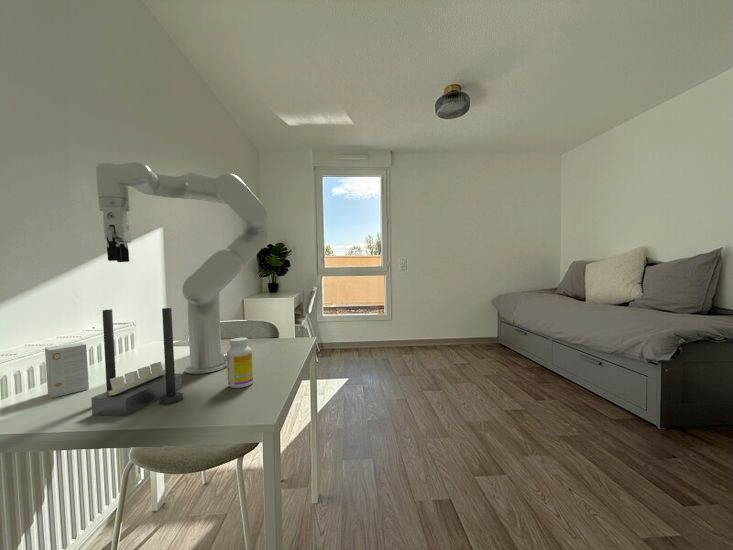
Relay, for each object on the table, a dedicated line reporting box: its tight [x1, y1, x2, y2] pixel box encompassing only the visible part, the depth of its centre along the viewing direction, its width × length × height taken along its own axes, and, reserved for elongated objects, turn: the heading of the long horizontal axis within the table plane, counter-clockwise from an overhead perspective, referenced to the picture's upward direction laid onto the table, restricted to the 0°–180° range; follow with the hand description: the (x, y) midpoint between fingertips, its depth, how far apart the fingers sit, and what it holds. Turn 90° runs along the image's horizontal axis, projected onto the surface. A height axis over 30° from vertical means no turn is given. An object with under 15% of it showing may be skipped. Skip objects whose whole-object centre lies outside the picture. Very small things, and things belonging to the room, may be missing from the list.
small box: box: [44, 341, 90, 399], centre depth 94 cm, size 8×6×13 cm
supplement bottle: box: [226, 337, 254, 389], centre depth 94 cm, size 7×7×13 cm
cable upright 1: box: [102, 308, 117, 392], centre depth 87 cm, size 5×5×23 cm
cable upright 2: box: [159, 307, 184, 406], centre depth 84 cm, size 5×5×23 cm
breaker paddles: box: [109, 361, 165, 396], centre depth 85 cm, size 16×2×4 cm, turn 171°
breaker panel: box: [90, 373, 183, 417], centre depth 85 cm, size 18×9×4 cm, turn 171°
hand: (119, 261), depth 103 cm, fingers open, 9 cm apart
